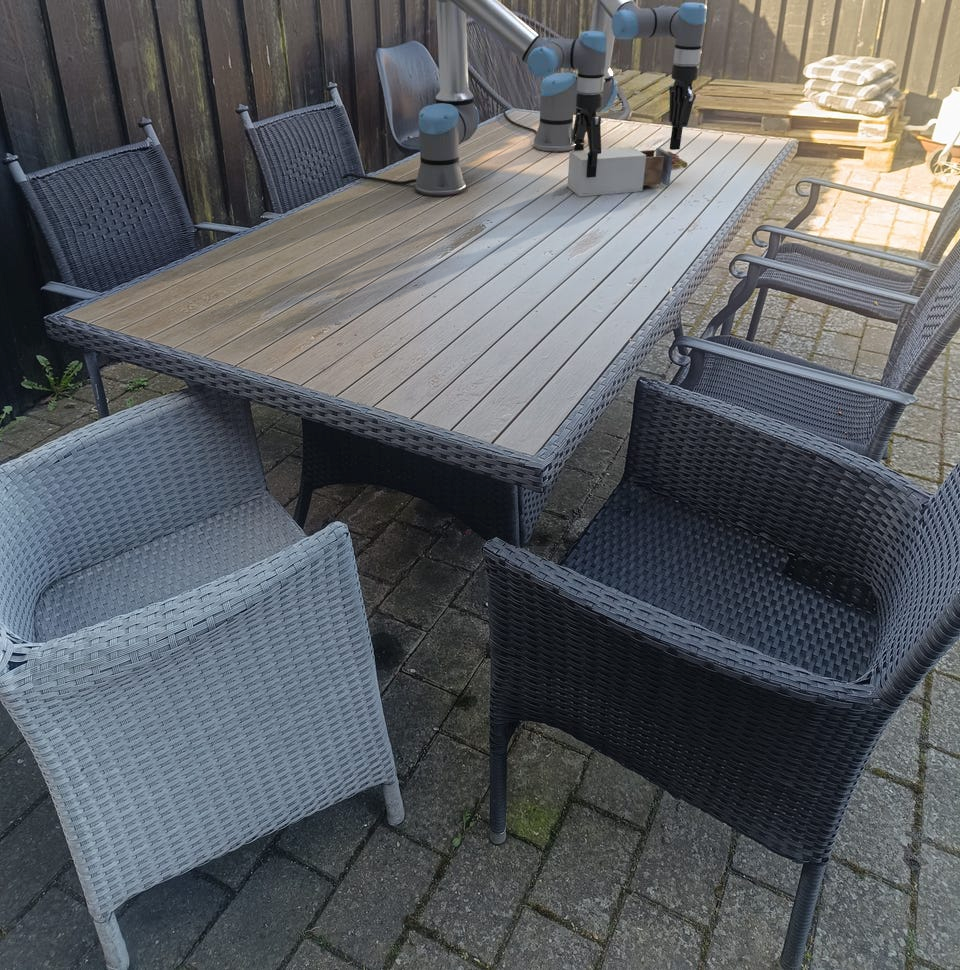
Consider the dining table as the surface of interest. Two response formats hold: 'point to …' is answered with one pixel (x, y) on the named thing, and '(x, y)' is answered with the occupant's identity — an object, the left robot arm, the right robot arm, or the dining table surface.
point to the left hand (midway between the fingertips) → (584, 171)
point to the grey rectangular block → (607, 172)
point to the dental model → (674, 157)
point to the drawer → (659, 167)
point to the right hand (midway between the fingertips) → (674, 148)
